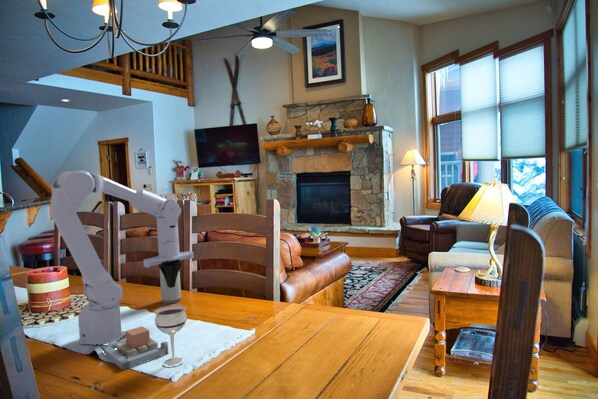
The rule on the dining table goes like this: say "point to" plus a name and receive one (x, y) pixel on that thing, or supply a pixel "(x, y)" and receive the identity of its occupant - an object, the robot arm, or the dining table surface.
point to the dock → (132, 361)
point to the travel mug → (170, 290)
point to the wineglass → (171, 325)
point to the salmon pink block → (137, 337)
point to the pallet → (132, 352)
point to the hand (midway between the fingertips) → (171, 286)
